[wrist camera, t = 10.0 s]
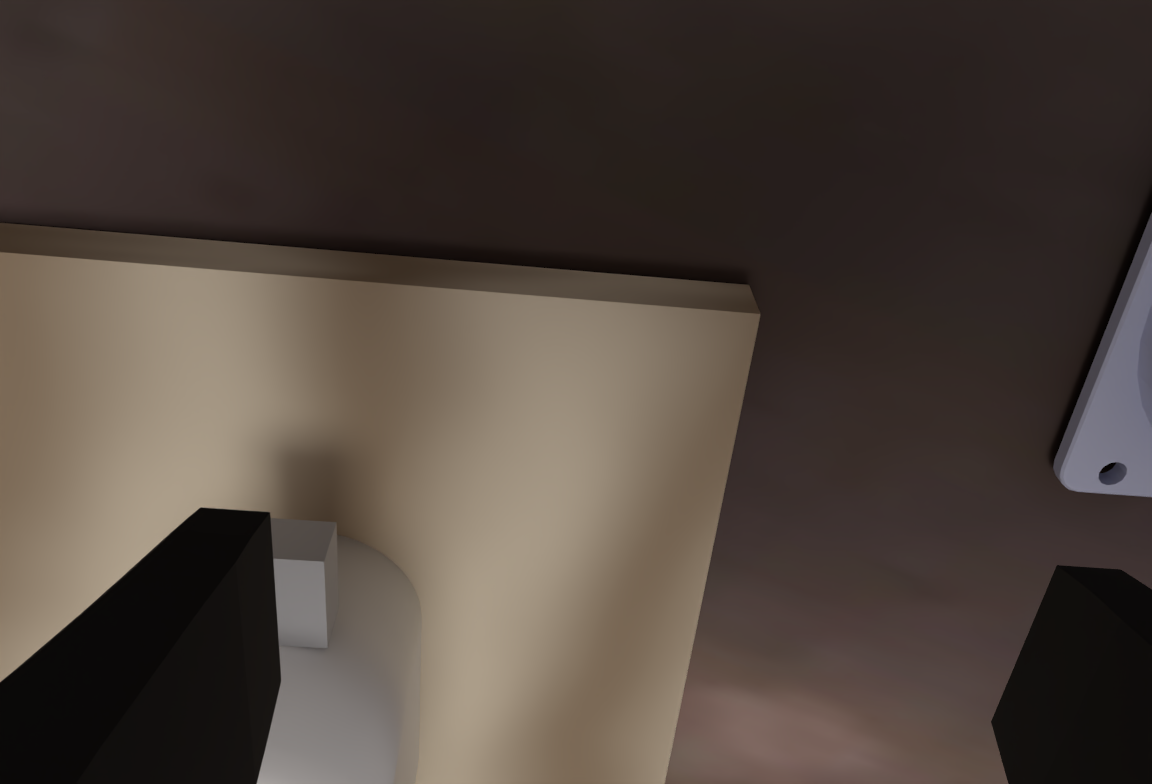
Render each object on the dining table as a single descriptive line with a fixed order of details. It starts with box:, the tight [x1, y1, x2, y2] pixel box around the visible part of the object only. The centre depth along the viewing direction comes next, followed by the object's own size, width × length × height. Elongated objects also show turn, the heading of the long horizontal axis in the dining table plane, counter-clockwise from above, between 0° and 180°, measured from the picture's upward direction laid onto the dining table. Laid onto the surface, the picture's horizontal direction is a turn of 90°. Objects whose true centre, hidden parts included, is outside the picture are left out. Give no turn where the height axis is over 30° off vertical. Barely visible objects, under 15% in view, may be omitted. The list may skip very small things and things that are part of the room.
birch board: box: [0, 223, 761, 784], centre depth 22 cm, size 15×19×1 cm
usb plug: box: [257, 518, 422, 784], centre depth 18 cm, size 4×10×5 cm, turn 175°
